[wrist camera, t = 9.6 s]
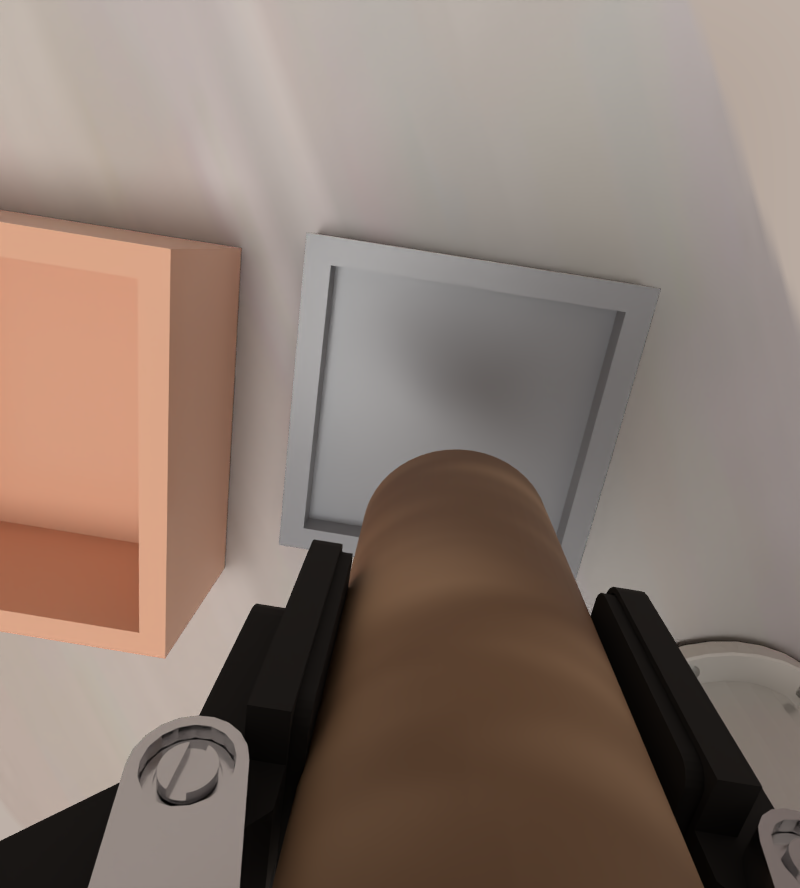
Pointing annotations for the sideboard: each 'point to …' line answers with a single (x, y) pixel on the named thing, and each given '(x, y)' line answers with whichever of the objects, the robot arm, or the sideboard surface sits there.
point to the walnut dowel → (473, 709)
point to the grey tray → (453, 379)
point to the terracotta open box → (112, 430)
